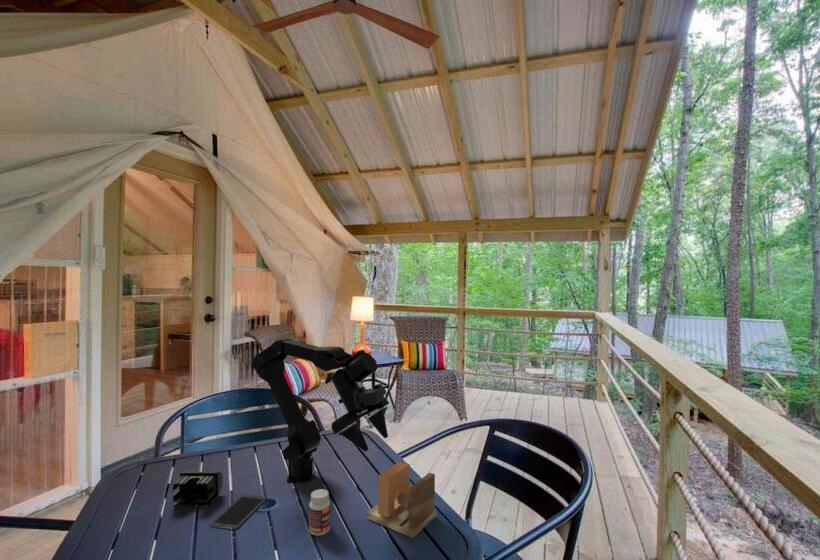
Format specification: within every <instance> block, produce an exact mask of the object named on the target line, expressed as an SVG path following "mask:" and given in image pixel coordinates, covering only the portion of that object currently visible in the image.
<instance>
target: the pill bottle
mask: <svg viewBox="0 0 820 560" xmlns="http://www.w3.org/2000/svg"><path fill="white" fill-rule="evenodd" d="M329 493H330V492H329V491H328V490H327V489H323V488H322V489H321V488H320V489H316V490H313V491H312V492H311V493H310V502H309V504H308V511H309V512H308V514H309V515H308V519H309V520H308V524H309V525H308V528H309V529H308V530H309V533H310V534H311V535H313V536H323V535H326V534H328V533H329V531H330V530H331V501H330V494H329Z"/></svg>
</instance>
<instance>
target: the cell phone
mask: <svg viewBox="0 0 820 560" xmlns="http://www.w3.org/2000/svg"><path fill="white" fill-rule="evenodd" d="M267 500H268V496H264V495H254V494H242V495H240V496H239V497H238V498H237V499H236V500H235V501H233V502H232V503H231V504H230V505H229V506H228V507H227V508H226V509H225V510H224V511H222V512H221V513H220V514H219V515H218V516H217V517H215V518H214V519H213V520H212V521H211V522H210V524H209V527H210V526H214V527H215V526H217V527H227V526H230V525H231V526H230V527H231V528H232V529H234V530H233V531H236V530H235V529H237V530H238V529H239V528H241V527H242V526H243V525H244V524H245V523H246V521H248V520H249V519H250V518H251V517H252V515H253V514H254V513H255V512H256V511H257V510H258V509H259V508H260V507H261V506H263V504H264V503H265V502H266V501H267ZM228 524H229V525H228Z"/></svg>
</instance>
